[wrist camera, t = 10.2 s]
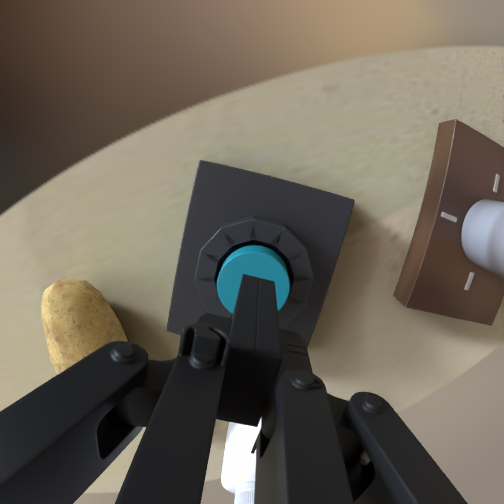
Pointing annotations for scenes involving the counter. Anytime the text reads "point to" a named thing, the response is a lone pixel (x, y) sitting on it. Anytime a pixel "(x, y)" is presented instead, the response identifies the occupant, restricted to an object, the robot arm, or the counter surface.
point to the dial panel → (454, 229)
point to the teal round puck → (252, 273)
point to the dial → (485, 235)
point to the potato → (77, 322)
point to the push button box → (257, 241)
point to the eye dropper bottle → (240, 462)
